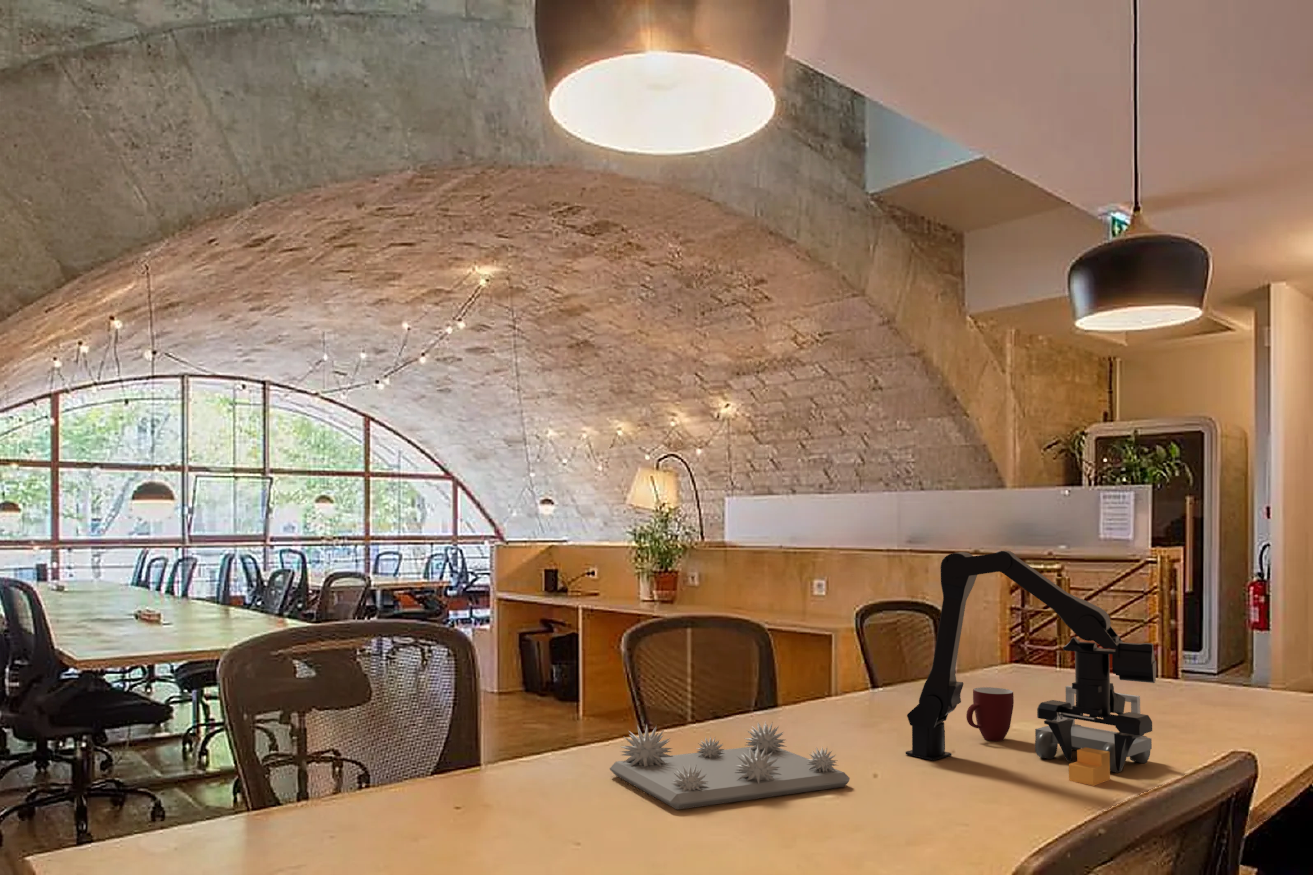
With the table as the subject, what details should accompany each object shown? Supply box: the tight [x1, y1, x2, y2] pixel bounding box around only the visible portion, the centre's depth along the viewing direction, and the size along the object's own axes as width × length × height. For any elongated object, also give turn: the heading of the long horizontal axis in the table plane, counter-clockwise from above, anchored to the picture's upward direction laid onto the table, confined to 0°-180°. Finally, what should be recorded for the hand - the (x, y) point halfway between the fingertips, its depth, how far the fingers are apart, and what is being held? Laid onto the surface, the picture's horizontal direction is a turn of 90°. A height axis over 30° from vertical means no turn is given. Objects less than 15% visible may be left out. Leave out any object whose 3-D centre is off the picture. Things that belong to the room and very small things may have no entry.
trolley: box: [1034, 685, 1152, 774], centre depth 197 cm, size 16×18×13 cm
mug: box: [965, 686, 1015, 742], centre depth 214 cm, size 10×8×10 cm
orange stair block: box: [1068, 747, 1111, 787], centre depth 183 cm, size 6×4×5 cm
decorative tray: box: [609, 720, 851, 811], centre depth 179 cm, size 35×26×10 cm
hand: (1093, 765), depth 184 cm, fingers open, 9 cm apart
